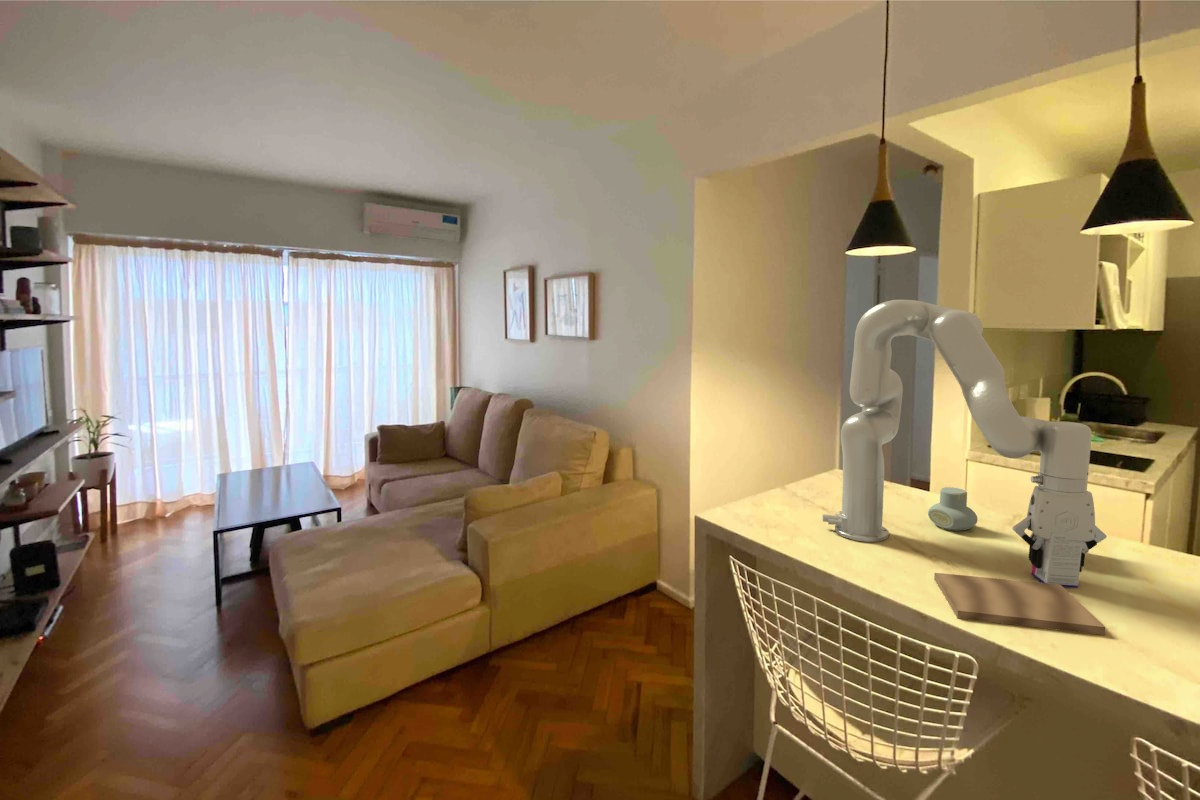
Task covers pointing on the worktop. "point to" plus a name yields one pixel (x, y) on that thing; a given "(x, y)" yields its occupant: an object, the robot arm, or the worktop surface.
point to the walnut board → (1016, 603)
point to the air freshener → (953, 510)
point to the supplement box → (1059, 561)
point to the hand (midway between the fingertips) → (1055, 566)
